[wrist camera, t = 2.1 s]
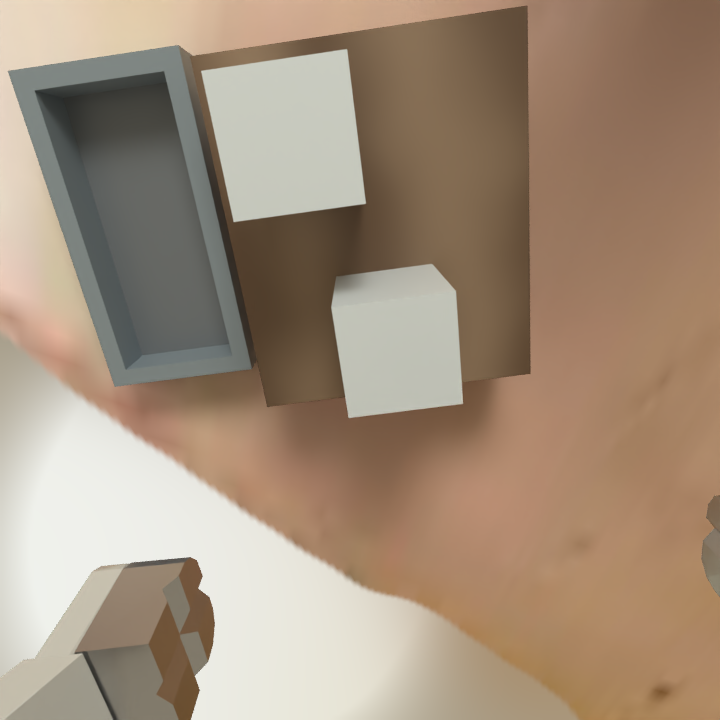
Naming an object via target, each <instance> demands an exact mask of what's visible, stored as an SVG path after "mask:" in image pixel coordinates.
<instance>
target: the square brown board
mask: <svg viewBox="0 0 720 720" xmlns="http://www.w3.org/2000/svg"><path fill="white" fill-rule="evenodd" d="M344 49H347V52H348V60H349V69H350V77H351V85H352V93H353V102H354V110H355V118H356V126H357V134H358V143H359V151H360V159H361V167H362V176H363V184H364V192H365V200H366V204H361V205H353V206H346V207H339V208H332V209H324V210H317V211H310V212H303V213H296V214H288V215H281V216H274V217H267V218H260V219H252V220H245V221H238V222H234V221H233V216H232V212H231V207H230V202H229V198H228V193H227V189H226V184H225V179H224V175H223V170H222V165H221V161H220V156H219V152H218V147H217V142H216V138H215V133H214V128H213V124H212V119H211V115H210V110H209V105H208V101H207V96H206V91H205V87H204V82H203V78H202V73H201V71H204V70H210V69H217V68H224V67H230V66H237V65H244V64H250V63H257V62H264V61H270V60H277V59H284V58H291V57H297V56H304V55H311V54H317V53H324V52H331V51H337V50H344ZM190 59H191V64H192V68H193V73H194V77H195V82H196V86H197V91H198V95H199V100H200V104H201V109H202V114H203V118H204V123H205V127H206V132H207V136H208V141H209V145H210V150H211V154H212V159H213V163H214V168H215V172H216V177H217V181H218V186H219V190H220V195H221V199H222V204H223V208H224V213H225V218H226V222H227V227H228V231H229V236H230V240H231V245H232V249H233V254H234V258H235V263H236V267H237V272H238V276H239V281H240V285H241V290H242V294H243V299H244V303H245V308H246V312H247V317H248V321H249V326H250V331H251V335H252V340H253V344H254V349H255V353H256V358H257V362H258V367H259V371H260V376H261V380H262V385H263V389H264V394H265V398H266V403H267V407H270V406H278V405H286V404H294V403H302V402H310V401H318V400H326V399H333V398H341V397H345V392H344V385H343V379H342V373H341V366H340V360H339V354H338V347H337V341H336V334H335V328H334V322H333V315H332V309H331V306H332V300H333V293H334V287H335V281H336V277H337V276H345V275H352V274H360V273H367V272H375V271H382V270H390V269H397V268H405V267H412V266H420V265H427V264H433V265H434V266H435V268H436V269H437V270H438V271H439V272H440V273H441V274H442V276H443V277H444V278H445V279H446V280H447V281H448V283H449V284H450V285H451V286H452V287H453V288H454V289H455V291H456V299H457V315H458V331H459V347H460V363H461V379H462V382H469V381H477V380H485V379H493V378H501V377H509V376H517V375H525V374H530V256H529V134H528V13H527V6H521V7H515V8H508V9H502V10H495V11H488V12H482V13H475V14H468V15H462V16H455V17H448V18H442V19H435V20H428V21H422V22H415V23H409V24H402V25H395V26H389V27H382V28H375V29H369V30H362V31H355V32H349V33H342V34H336V35H329V36H322V37H316V38H309V39H302V40H296V41H289V42H282V43H276V44H269V45H262V46H256V47H249V48H243V49H236V50H229V51H223V52H216V53H209V54H203V55H196V56H190Z"/></svg>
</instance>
